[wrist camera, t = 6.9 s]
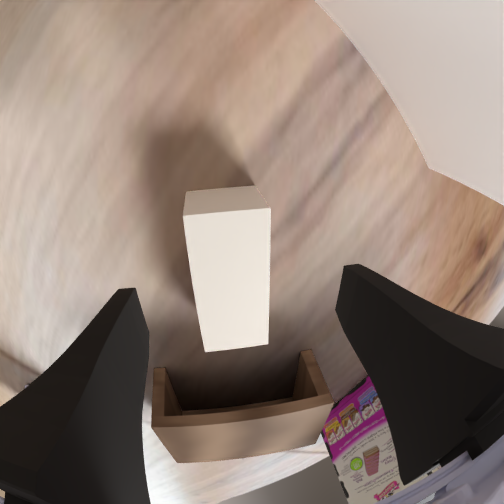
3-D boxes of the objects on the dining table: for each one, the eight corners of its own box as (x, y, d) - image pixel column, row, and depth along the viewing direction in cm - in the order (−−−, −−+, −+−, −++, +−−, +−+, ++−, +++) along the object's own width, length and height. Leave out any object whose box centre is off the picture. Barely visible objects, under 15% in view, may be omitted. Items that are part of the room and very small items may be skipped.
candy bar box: (338, 420, 35) (377, 512, 21) (314, 419, 33) (352, 522, 19) (394, 372, 31) (451, 472, 17) (373, 368, 29) (435, 483, 15)
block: (202, 311, 20) (205, 352, 17) (186, 190, 16) (182, 215, 13) (256, 305, 21) (268, 344, 18) (254, 184, 17) (270, 207, 13)
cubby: (175, 415, 27) (177, 463, 22) (154, 368, 22) (151, 427, 17) (299, 399, 29) (315, 443, 24) (311, 349, 24) (334, 402, 19)
